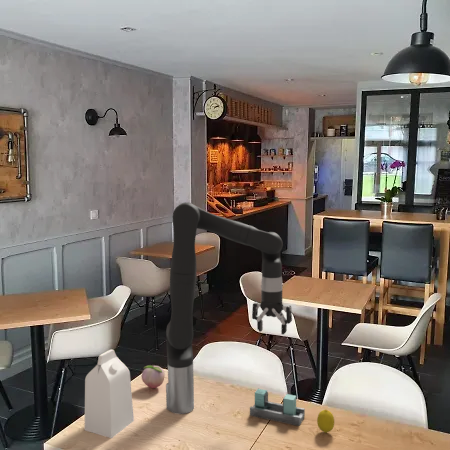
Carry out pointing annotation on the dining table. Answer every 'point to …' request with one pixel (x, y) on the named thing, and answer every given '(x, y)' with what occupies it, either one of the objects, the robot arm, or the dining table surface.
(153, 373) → the decorative fruit
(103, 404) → the milk
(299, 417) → the rail
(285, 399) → the block
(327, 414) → the lemon
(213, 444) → the dining table surface
